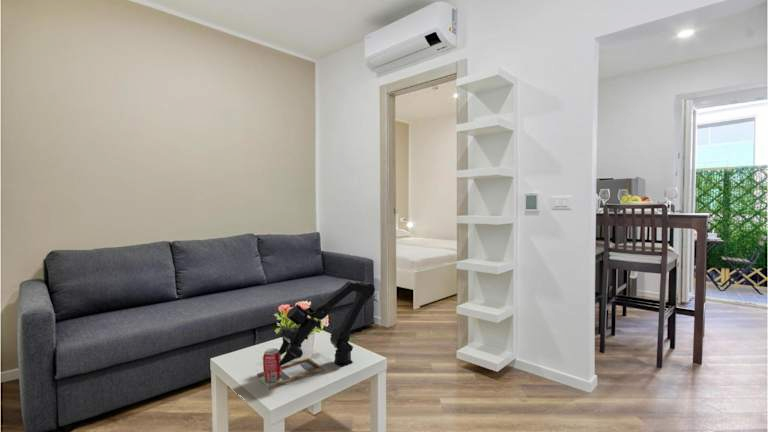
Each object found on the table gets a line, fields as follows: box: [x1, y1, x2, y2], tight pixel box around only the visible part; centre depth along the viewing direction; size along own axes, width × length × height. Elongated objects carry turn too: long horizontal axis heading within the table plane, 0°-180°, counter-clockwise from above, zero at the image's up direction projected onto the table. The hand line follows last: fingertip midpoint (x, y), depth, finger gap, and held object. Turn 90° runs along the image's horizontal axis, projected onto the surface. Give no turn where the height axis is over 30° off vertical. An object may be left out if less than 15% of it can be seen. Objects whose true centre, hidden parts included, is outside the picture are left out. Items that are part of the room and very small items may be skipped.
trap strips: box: [281, 362, 317, 380], centre depth 159 cm, size 16×10×1 cm, turn 129°
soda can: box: [262, 348, 282, 382], centre depth 152 cm, size 7×7×12 cm
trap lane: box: [256, 357, 324, 390], centre depth 157 cm, size 24×14×1 cm, turn 129°
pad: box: [258, 376, 284, 388], centre depth 152 cm, size 7×10×1 cm
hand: (278, 360), depth 153 cm, fingers open, 9 cm apart
